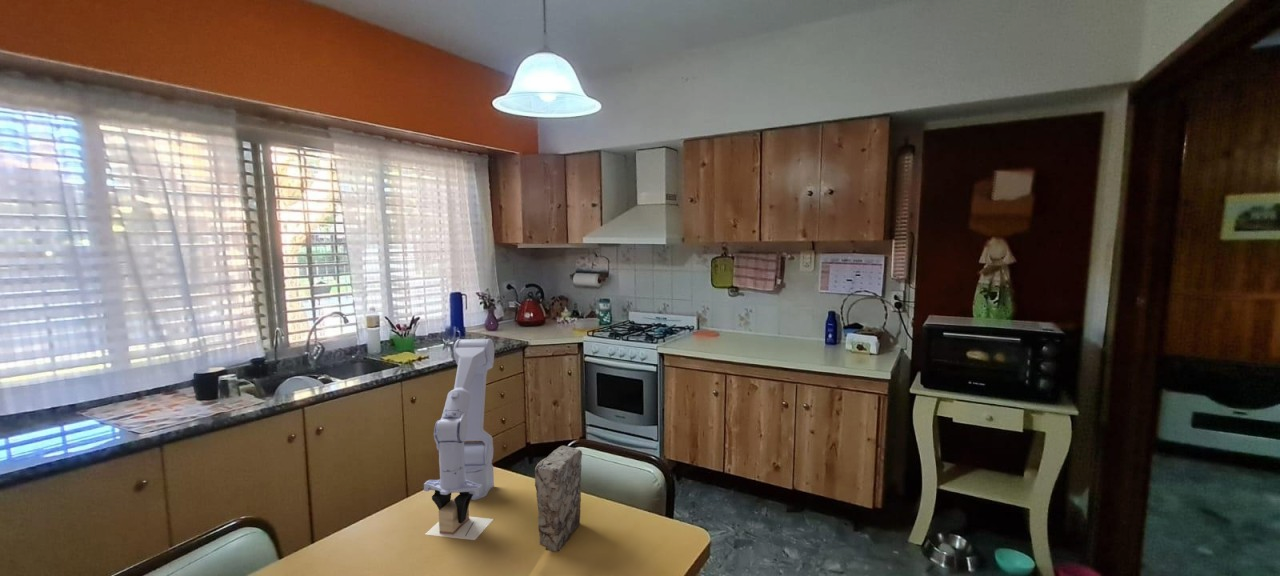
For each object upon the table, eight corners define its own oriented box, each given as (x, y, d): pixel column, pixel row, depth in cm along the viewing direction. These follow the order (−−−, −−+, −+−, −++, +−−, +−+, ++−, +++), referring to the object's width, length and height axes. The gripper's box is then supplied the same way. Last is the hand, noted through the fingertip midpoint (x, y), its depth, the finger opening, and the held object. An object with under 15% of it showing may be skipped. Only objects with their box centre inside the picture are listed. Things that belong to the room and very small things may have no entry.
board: (446, 518, 123) (446, 514, 123) (493, 523, 120) (493, 518, 120) (424, 539, 114) (424, 534, 114) (475, 545, 111) (474, 540, 111)
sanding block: (456, 517, 121) (455, 496, 121) (469, 518, 120) (468, 497, 120) (439, 533, 114) (438, 510, 114) (453, 534, 114) (452, 512, 113)
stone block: (564, 554, 108) (562, 468, 106) (535, 550, 109) (533, 465, 108) (584, 522, 120) (582, 445, 119) (558, 519, 122) (556, 442, 121)
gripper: (414, 471, 114) (417, 526, 115) (471, 476, 111) (473, 532, 112) (432, 458, 121) (435, 511, 122) (486, 463, 118) (488, 516, 119)
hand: (454, 520), depth 117 cm, fingers closed on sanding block, 4 cm apart
